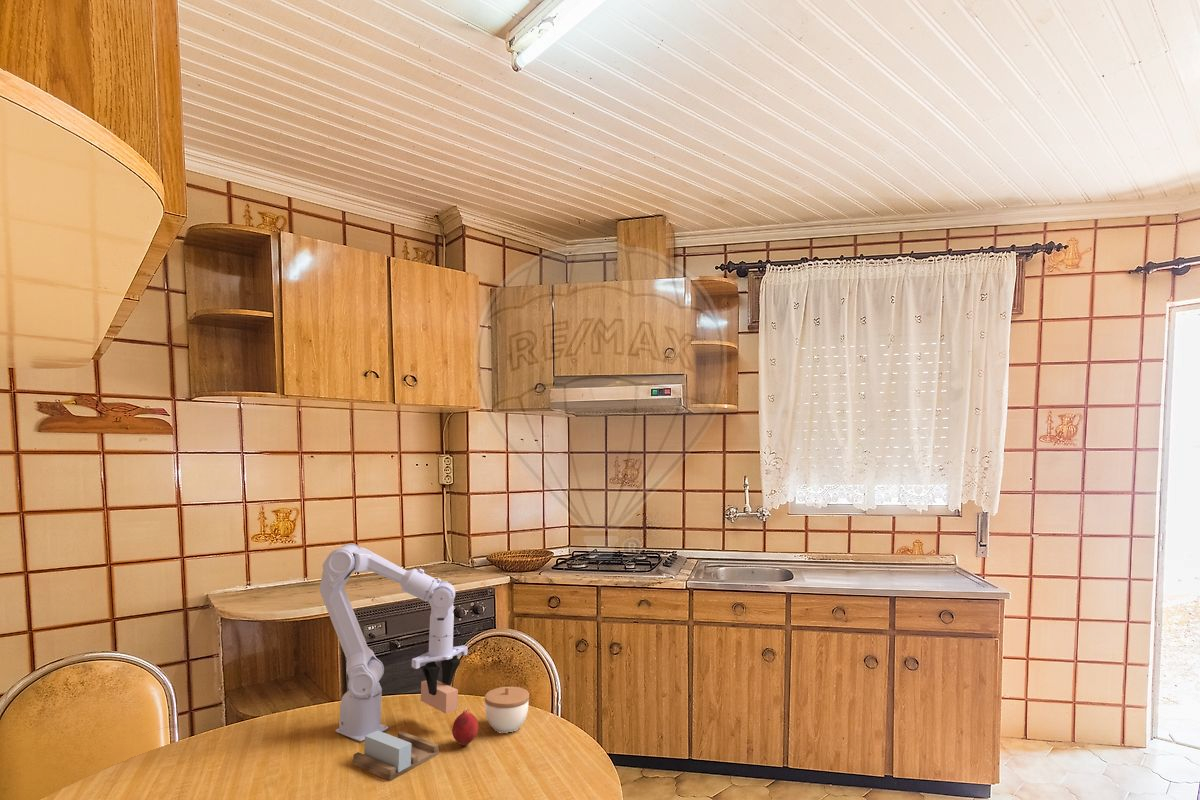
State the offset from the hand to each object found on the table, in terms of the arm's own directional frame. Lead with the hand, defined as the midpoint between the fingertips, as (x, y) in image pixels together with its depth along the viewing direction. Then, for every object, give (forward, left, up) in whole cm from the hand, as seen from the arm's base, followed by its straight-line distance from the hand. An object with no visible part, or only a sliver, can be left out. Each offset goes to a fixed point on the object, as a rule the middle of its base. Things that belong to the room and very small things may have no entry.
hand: (439, 691), depth 145 cm
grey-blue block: (+4, -18, -8) cm, 20 cm away
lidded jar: (+14, +9, -9) cm, 19 cm away
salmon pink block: (0, 0, -3) cm, 3 cm away
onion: (+12, -3, -9) cm, 15 cm away
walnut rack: (+4, -16, -8) cm, 18 cm away
